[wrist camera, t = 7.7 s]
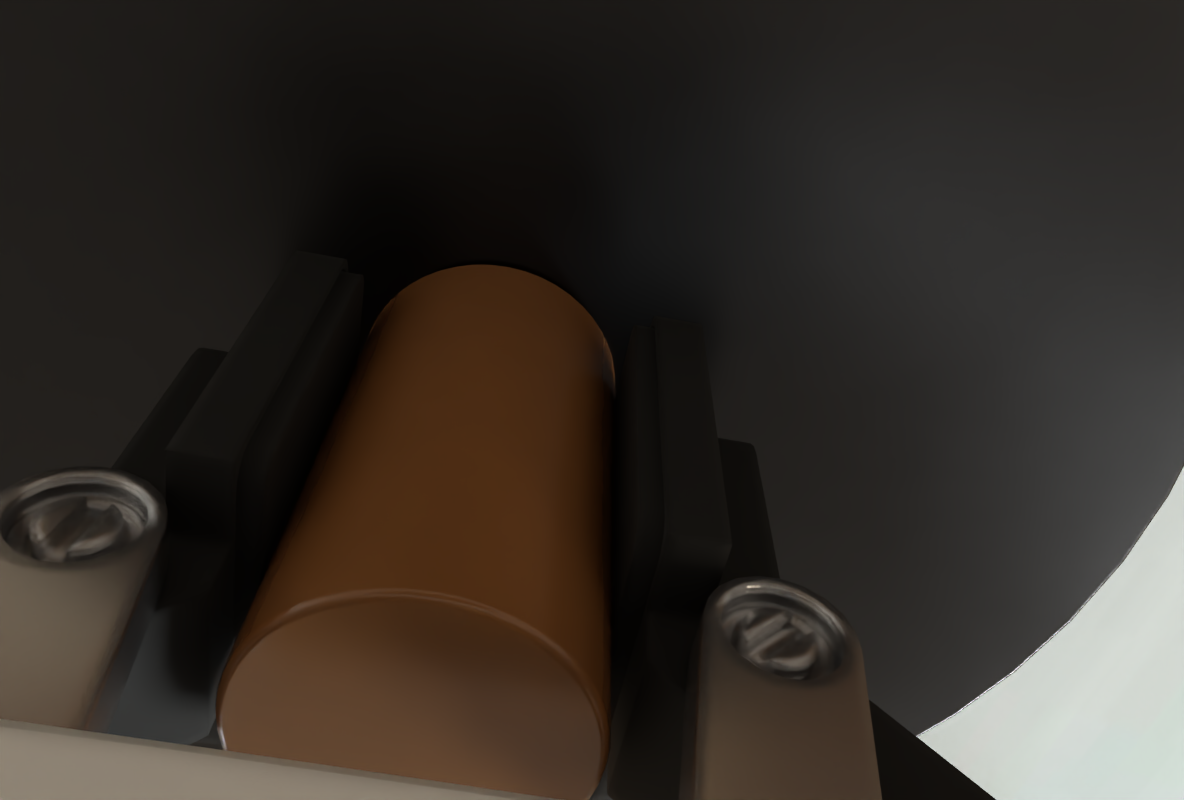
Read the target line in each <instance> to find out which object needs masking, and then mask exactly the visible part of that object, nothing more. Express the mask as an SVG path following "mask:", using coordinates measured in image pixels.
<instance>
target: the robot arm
mask: <svg viewBox="0 0 1184 800" xmlns="http://www.w3.org/2000/svg"><path fill="white" fill-rule="evenodd" d="M363 292H364V277H363V275H360V274H355V273H349V272H348V262H347V259H343V258H338V257H332V256H327V255H321V254H316V253H310V252H305V251H299V250H296V251H295V252H294V253H293V255H292V256H291V258H290V259H289V261H288V262H287V264H286V265H285V267H284V268H283V270H282V271H281V273H280V274H279V276H278V277H277V279H276V281H275V282H274V284H273V285H272V287H271V288H270V290H269V291H268V293H267V294H266V296H265V297H264V299H263V300H262V302H261V303H260V305H259V306H258V308H257V310H256V311H255V313H254V314H253V316H252V317H251V319H250V320H249V322H248V323H247V325H246V326H245V328H244V329H243V331H242V332H241V334H240V335H239V337H238V339H237V340H236V342H235V343H234V345H233V346H232V348H231V349H230V351H229V352H227V351H221V350H215V349H210V348H198V349H197V350H196V351H195V352H194V353H193V354H192V355H191V357H190V358H189V359H188V361H187V362H186V364H185V365H184V366H183V368H182V369H181V371H180V372H179V373H178V375H177V376H176V378H175V379H174V380H173V382H172V383H171V385H170V386H169V387H168V389H167V390H166V392H165V393H164V394H163V396H162V397H161V399H160V400H159V401H158V403H157V404H156V406H155V407H154V408H153V410H152V411H151V413H150V414H149V415H148V417H147V418H146V420H145V421H144V422H143V424H142V425H141V427H140V428H139V429H138V431H137V432H136V434H135V435H134V436H133V438H132V439H131V441H130V442H129V443H128V445H127V446H126V448H125V449H124V450H123V452H122V453H121V455H120V456H119V457H118V459H117V460H116V462H115V463H114V464H113V466H112V467H111V468H107V467H87V466H74V467H68V468H61V469H55V470H49V471H45V472H42V473H39V474H36V475H33V476H30V477H27V478H25V479H22V480H20V481H18V482H16V483H15V484H13V485H11V486H10V487H8V488H6V489H5V490H3V491H1V492H0V800H561V799H554V798H547V797H541V796H534V795H527V794H520V793H513V792H506V791H500V790H493V789H486V788H479V787H472V786H466V785H459V784H452V783H445V782H438V781H432V780H425V779H418V778H411V777H404V776H397V775H391V774H384V773H377V772H370V771H363V770H356V769H349V768H342V767H336V766H329V765H322V764H315V763H308V762H301V761H294V760H287V759H280V758H273V757H267V756H260V755H253V754H246V753H239V752H232V751H225V750H218V749H211V748H204V747H197V746H190V744H192V743H194V742H200V743H207V744H214V745H221V742H220V738H219V734H218V731H217V722H216V711H215V702H216V692H217V686H218V683H219V680H220V677H221V673H222V670H223V668H224V666H225V664H226V661H227V659H228V657H229V654H230V652H231V650H232V647H233V645H234V643H235V640H236V638H237V636H238V634H239V631H240V629H241V627H242V624H243V622H244V620H245V617H246V615H247V613H248V611H249V608H250V606H251V604H252V601H253V599H254V597H255V594H256V592H257V590H258V588H259V585H260V583H261V581H262V578H263V576H264V574H265V571H266V569H267V567H268V565H269V562H270V560H271V558H272V555H273V553H274V551H275V548H276V546H277V544H278V542H279V539H280V537H281V535H282V532H283V530H284V528H285V525H286V523H287V521H288V519H289V516H290V514H291V512H292V509H293V507H294V505H295V502H296V500H297V498H298V496H299V493H300V491H301V489H302V486H303V484H304V482H305V479H306V477H307V475H308V473H309V470H310V468H311V466H312V463H313V461H314V459H315V456H316V454H317V452H318V450H319V447H320V445H321V443H322V440H323V438H324V436H325V433H326V431H327V429H328V427H329V424H330V422H331V420H332V417H333V415H334V413H335V410H336V408H337V406H338V403H339V401H340V399H341V397H342V394H343V392H344V390H345V387H346V385H347V383H348V380H349V378H350V376H351V374H352V371H353V369H354V367H355V364H356V362H357V360H358V351H359V339H360V327H361V316H362V304H363ZM221 746H222V745H221ZM591 800H996V799H995V798H993V797H992V796H991V795H989V794H988V793H987V792H986V791H984V790H983V789H982V788H981V787H979V786H978V785H977V784H976V783H974V782H973V781H972V780H970V779H969V778H968V777H967V776H965V775H964V774H963V773H962V772H960V771H959V770H958V769H957V768H955V767H954V766H953V765H951V764H950V763H949V762H948V761H946V760H945V759H944V758H943V757H941V756H940V755H939V754H938V753H936V752H935V751H934V750H933V749H931V748H930V747H929V746H927V745H926V744H925V743H924V742H922V741H921V740H920V739H919V738H917V737H916V736H915V735H914V734H912V733H911V732H910V731H908V730H907V729H906V728H905V727H903V726H902V725H901V724H900V723H898V722H897V721H896V720H895V719H893V718H892V717H891V716H889V715H888V714H887V713H886V712H884V711H883V710H882V709H881V708H879V707H878V706H877V705H876V704H874V703H873V702H872V701H871V700H869V698H868V691H867V683H866V676H865V668H864V661H863V653H862V648H861V645H860V642H859V639H858V636H857V633H856V631H855V630H854V628H853V627H852V625H851V624H850V623H849V621H848V620H847V619H846V617H845V616H844V614H843V613H841V612H840V611H839V610H838V609H837V608H836V607H834V606H833V605H832V604H831V603H830V602H829V601H827V600H826V599H825V598H823V597H822V596H820V595H818V594H816V593H814V592H813V591H811V590H809V589H807V588H805V587H804V586H801V585H798V584H795V583H792V582H789V581H786V580H783V579H780V576H779V571H778V565H777V560H776V555H775V549H774V544H773V539H772V534H771V528H770V523H769V518H768V512H767V507H766V502H765V497H764V491H763V486H762V481H761V476H760V470H759V465H758V460H757V454H756V451H755V448H754V445H752V444H750V443H746V442H740V441H735V440H729V439H723V438H718V436H717V429H716V422H715V414H714V407H713V400H712V393H711V385H710V378H709V371H708V364H707V356H706V349H705V342H704V334H703V328H702V324H697V323H692V322H686V321H681V320H675V319H670V318H665V317H659V316H654V318H653V319H652V322H651V325H650V327H645V326H639V325H634V326H633V329H632V332H631V336H630V340H629V344H628V348H627V352H626V356H625V361H624V365H623V369H622V373H621V377H620V382H619V386H618V390H617V394H616V398H615V402H614V479H613V568H612V666H611V748H610V753H609V758H608V763H607V766H606V769H605V771H604V774H603V776H602V779H601V781H600V783H599V785H598V786H597V788H596V790H595V791H594V793H593V794H592V796H591Z"/></svg>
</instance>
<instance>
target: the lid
mask: <svg viewBox="0 0 1184 800" xmlns="http://www.w3.org/2000/svg"><path fill="white" fill-rule="evenodd" d="M296 250H299V251H305V252H310V253H316V254H321V255H327V256H332V257H338V258H343V259H347V262H348V272H349V273H355V274H360V275H363V277H364V292H363V304H362V316H361V327H360V339H359V351H358V360H357V362H356V364H355V367H354V369H353V371H352V374H351V376H350V378H349V380H348V383H347V385H346V387H345V390H344V392H343V394H342V397H341V399H340V401H339V403H338V406H337V408H336V410H335V413H334V415H333V417H332V420H331V422H330V424H329V427H328V429H327V431H326V433H325V436H324V438H323V440H322V443H321V445H320V447H319V450H318V452H317V454H316V456H315V459H314V461H313V463H312V466H311V468H310V470H309V473H308V475H307V477H306V479H305V482H304V484H303V486H302V489H301V491H300V493H299V496H298V498H297V500H296V502H295V505H294V507H293V509H292V512H291V514H290V516H289V519H288V521H287V523H286V525H285V528H284V530H283V532H282V535H281V537H280V539H279V542H278V544H277V546H276V548H275V551H274V553H273V555H272V558H271V560H270V562H269V565H268V567H267V569H266V571H265V574H264V576H263V578H262V581H261V583H260V585H259V588H258V590H257V592H256V594H255V597H254V599H253V601H252V604H251V606H250V608H249V611H248V613H247V615H246V617H245V620H244V622H243V624H242V627H241V629H240V631H239V634H238V636H237V638H236V640H235V643H234V645H233V647H232V650H231V652H230V654H229V657H228V659H227V661H226V664H225V666H224V668H223V670H222V673H221V677H220V680H219V683H218V686H217V692H216V702H215V711H216V722H217V731H218V734H219V738H220V742H221V745H222V746H221V745H214V744H207V743H200V742H194V743H192V744H190V746H197V747H204V748H211V749H218V750H225V751H232V752H239V753H246V754H253V755H260V756H267V757H273V758H280V759H287V760H294V761H301V762H308V763H315V764H322V765H329V766H336V767H342V768H349V769H356V770H363V771H370V772H377V773H384V774H391V775H397V776H404V777H411V778H418V779H425V780H432V781H438V782H445V783H452V784H459V785H466V786H472V787H479V788H486V789H493V790H500V791H506V792H513V793H520V794H527V795H534V796H541V797H547V798H554V799H561V800H591V796H592V794H593V793H594V791H595V790H596V788H597V786H598V785H599V783H600V781H601V779H602V776H603V774H604V771H605V769H606V766H607V763H608V758H609V753H610V748H611V666H612V568H613V479H614V402H615V398H616V394H617V390H618V386H619V382H620V377H621V373H622V369H623V365H624V361H625V356H626V352H627V348H628V344H629V340H630V336H631V332H632V329H633V326H634V325H639V326H645V327H650V325H651V322H652V319H653V318H654V316H659V317H665V318H670V319H675V320H681V321H686V322H692V323H697V324H702V328H703V334H704V342H705V349H706V356H707V364H708V371H709V378H710V385H711V393H712V400H713V407H714V414H715V422H716V429H717V436H718V438H723V439H729V440H735V441H740V442H746V443H750V444H752V445H754V448H755V451H756V454H757V460H758V465H759V470H760V476H761V481H762V486H763V491H764V497H765V502H766V507H767V512H768V518H769V523H770V528H771V534H772V539H773V544H774V549H775V555H776V560H777V565H778V571H779V576H780V579H783V580H786V581H789V582H792V583H795V584H798V585H801V586H804V587H805V588H807V589H809V590H811V591H813V592H814V593H816V594H818V595H820V596H822V597H823V598H825V599H826V600H827V601H829V602H830V603H831V604H832V605H833V606H834V607H836V608H837V609H838V610H839V611H840V612H841V613H843V614H844V616H845V617H846V619H847V620H848V621H849V623H850V624H851V625H852V627H853V628H854V630H855V631H856V633H857V636H858V639H859V642H860V645H861V648H862V653H863V661H864V668H865V676H866V683H867V691H868V698H869V700H871V701H872V702H873V703H874V704H876V705H877V706H878V707H879V708H881V709H882V710H883V711H884V712H886V713H887V714H888V715H889V716H891V717H892V718H893V719H895V720H896V721H897V722H898V723H900V724H901V725H902V726H903V727H905V728H906V729H907V730H908V731H910V732H911V733H912V734H914V735H915V736H916V737H918V736H919V735H921V734H923V733H925V732H926V731H928V730H930V729H931V728H933V727H935V726H937V725H938V724H940V723H942V722H944V721H945V720H947V719H949V718H951V717H952V716H954V715H956V714H957V713H958V712H960V711H961V710H962V709H964V708H965V707H967V706H968V705H969V704H971V703H972V702H974V701H975V700H976V699H978V698H979V697H980V696H982V695H983V694H985V693H986V692H987V691H989V690H990V689H992V688H993V687H994V686H996V685H997V684H998V683H1000V682H1001V681H1003V680H1004V679H1005V678H1007V677H1008V676H1009V675H1011V674H1012V673H1014V672H1015V671H1016V670H1017V669H1018V668H1019V667H1021V666H1022V665H1023V664H1024V663H1025V662H1026V661H1027V660H1028V659H1029V658H1030V657H1032V656H1033V655H1034V654H1035V653H1036V652H1037V651H1038V650H1039V649H1040V648H1042V647H1043V646H1044V645H1045V644H1046V643H1047V642H1048V641H1049V640H1050V639H1052V638H1053V637H1054V636H1055V635H1056V634H1057V633H1058V632H1059V631H1060V630H1061V629H1063V628H1064V627H1065V626H1066V625H1067V624H1068V623H1069V622H1070V621H1071V620H1072V619H1073V618H1074V617H1075V616H1076V615H1077V614H1078V612H1079V611H1080V610H1081V609H1082V608H1083V607H1084V606H1085V604H1086V603H1087V602H1088V601H1089V600H1090V599H1091V598H1092V597H1093V595H1094V594H1095V593H1096V592H1097V591H1098V590H1099V589H1100V587H1101V586H1102V585H1103V584H1104V583H1105V582H1106V581H1107V580H1108V578H1109V577H1110V576H1111V575H1112V574H1113V573H1114V572H1115V570H1116V569H1117V568H1118V567H1119V566H1120V565H1121V564H1122V562H1123V561H1124V560H1125V558H1126V557H1127V555H1128V554H1129V552H1130V551H1131V549H1132V548H1133V547H1134V545H1135V544H1136V542H1137V541H1138V539H1139V538H1140V536H1141V535H1142V533H1143V532H1144V531H1145V529H1146V528H1147V526H1148V525H1149V523H1150V522H1151V520H1152V519H1153V517H1154V516H1155V514H1156V513H1157V512H1158V510H1159V509H1160V507H1161V506H1162V504H1163V503H1164V501H1165V500H1166V498H1167V497H1168V496H1169V494H1170V492H1171V490H1172V488H1173V486H1174V484H1175V482H1176V480H1177V478H1178V476H1179V474H1180V472H1181V470H1182V468H1183V466H1184V0H0V492H1V491H3V490H5V489H6V488H8V487H10V486H11V485H13V484H15V483H16V482H18V481H20V480H22V479H25V478H27V477H30V476H33V475H36V474H39V473H42V472H45V471H49V470H55V469H61V468H68V467H74V466H87V467H107V468H111V467H112V466H113V464H114V463H115V462H116V460H117V459H118V457H119V456H120V455H121V453H122V452H123V450H124V449H125V448H126V446H127V445H128V443H129V442H130V441H131V439H132V438H133V436H134V435H135V434H136V432H137V431H138V429H139V428H140V427H141V425H142V424H143V422H144V421H145V420H146V418H147V417H148V415H149V414H150V413H151V411H152V410H153V408H154V407H155V406H156V404H157V403H158V401H159V400H160V399H161V397H162V396H163V394H164V393H165V392H166V390H167V389H168V387H169V386H170V385H171V383H172V382H173V380H174V379H175V378H176V376H177V375H178V373H179V372H180V371H181V369H182V368H183V366H184V365H185V364H186V362H187V361H188V359H189V358H190V357H191V355H192V354H193V353H194V352H195V351H196V350H197V349H198V348H210V349H215V350H221V351H227V352H229V351H230V349H231V348H232V346H233V345H234V343H235V342H236V340H237V339H238V337H239V335H240V334H241V332H242V331H243V329H244V328H245V326H246V325H247V323H248V322H249V320H250V319H251V317H252V316H253V314H254V313H255V311H256V310H257V308H258V306H259V305H260V303H261V302H262V300H263V299H264V297H265V296H266V294H267V293H268V291H269V290H270V288H271V287H272V285H273V284H274V282H275V281H276V279H277V277H278V276H279V274H280V273H281V271H282V270H283V268H284V267H285V265H286V264H287V262H288V261H289V259H290V258H291V256H292V255H293V253H294V252H295V251H296Z"/></svg>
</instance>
